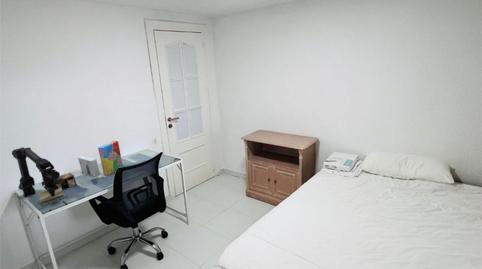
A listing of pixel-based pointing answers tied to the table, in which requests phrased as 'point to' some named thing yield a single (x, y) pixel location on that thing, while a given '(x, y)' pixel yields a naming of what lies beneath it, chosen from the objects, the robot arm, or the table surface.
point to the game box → (110, 157)
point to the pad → (53, 199)
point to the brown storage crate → (67, 180)
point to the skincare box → (89, 165)
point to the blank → (47, 195)
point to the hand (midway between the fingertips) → (52, 195)
